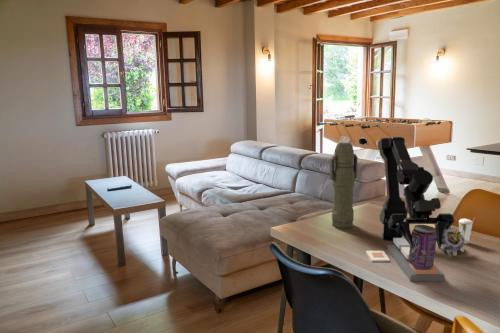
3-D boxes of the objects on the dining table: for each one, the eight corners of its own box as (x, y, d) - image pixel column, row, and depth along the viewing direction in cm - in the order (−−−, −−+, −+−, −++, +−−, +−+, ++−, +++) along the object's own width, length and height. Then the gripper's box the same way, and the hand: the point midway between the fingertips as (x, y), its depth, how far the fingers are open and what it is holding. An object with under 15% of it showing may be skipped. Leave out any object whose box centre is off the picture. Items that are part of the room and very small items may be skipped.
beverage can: (407, 259, 131) (410, 223, 128) (431, 261, 129) (435, 225, 126) (409, 268, 124) (413, 230, 121) (434, 271, 122) (439, 233, 120)
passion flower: (452, 270, 143) (443, 249, 137) (429, 253, 152) (420, 233, 146) (476, 250, 144) (468, 228, 138) (452, 234, 153) (444, 213, 147)
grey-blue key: (393, 241, 147) (393, 238, 146) (411, 241, 146) (411, 237, 146) (398, 248, 140) (399, 244, 140) (418, 248, 140) (418, 244, 140)
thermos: (324, 224, 176) (325, 143, 170) (347, 220, 181) (349, 141, 174) (337, 230, 168) (339, 145, 162) (360, 226, 173) (362, 143, 167)
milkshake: (474, 245, 150) (477, 219, 148) (459, 244, 151) (461, 218, 150) (471, 240, 155) (473, 215, 153) (455, 240, 156) (457, 214, 154)
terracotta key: (409, 265, 130) (409, 261, 130) (429, 265, 130) (430, 261, 130) (416, 274, 124) (416, 270, 123) (438, 274, 123) (438, 270, 123)
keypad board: (387, 250, 147) (387, 244, 147) (415, 250, 147) (416, 244, 147) (410, 281, 124) (410, 275, 124) (444, 281, 123) (444, 275, 123)
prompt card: (366, 252, 146) (366, 250, 146) (383, 252, 146) (383, 250, 146) (371, 261, 138) (371, 259, 138) (389, 261, 138) (389, 259, 138)
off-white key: (400, 251, 138) (400, 247, 138) (420, 251, 138) (420, 247, 138) (407, 259, 132) (407, 254, 132) (427, 259, 132) (428, 254, 131)
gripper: (392, 188, 126) (401, 235, 118) (454, 188, 125) (468, 235, 117) (384, 206, 136) (392, 250, 127) (442, 205, 135) (454, 250, 126)
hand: (426, 246), depth 124 cm, fingers open, 8 cm apart
